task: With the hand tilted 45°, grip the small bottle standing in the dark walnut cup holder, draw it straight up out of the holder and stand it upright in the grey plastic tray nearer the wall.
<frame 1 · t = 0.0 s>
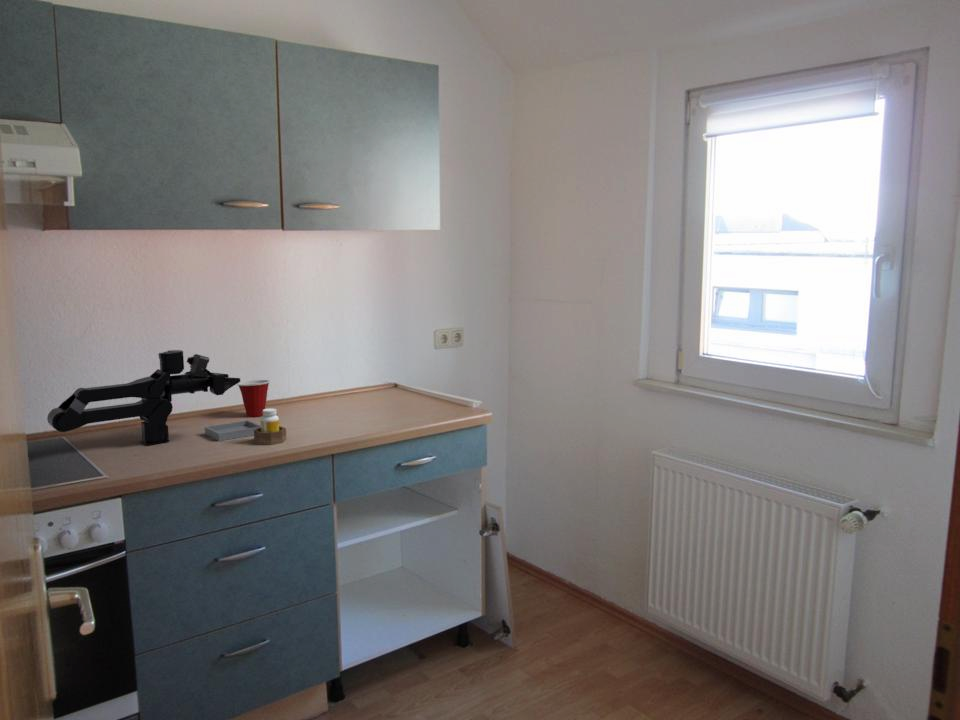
hand: (234, 377, 242), 17 cm above the worktop, tool horizontal, fingers open, 9 cm apart
supplement bottle: (270, 441, 230), resting in cup holder
cup holder: (270, 440, 230), on the worktop
plastic cup: (255, 415, 263), on the worktop
tray: (234, 433, 238), on the worktop
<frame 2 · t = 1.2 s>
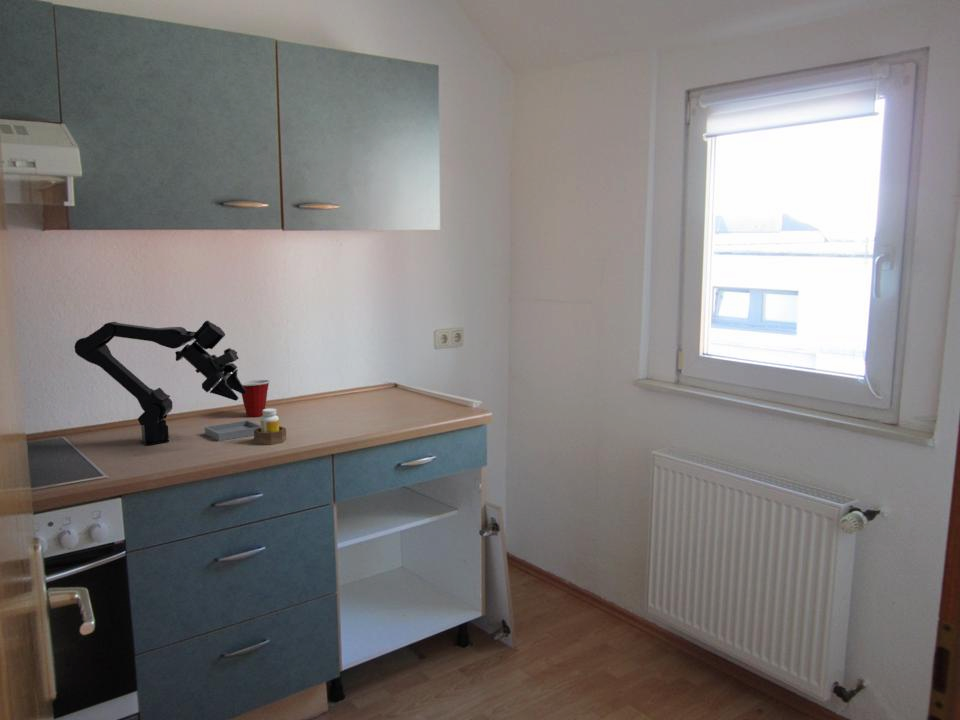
hand: (241, 396, 228), 14 cm above the worktop, tool tilted 45°, fingers open, 9 cm apart
nothing on the worktop moved.
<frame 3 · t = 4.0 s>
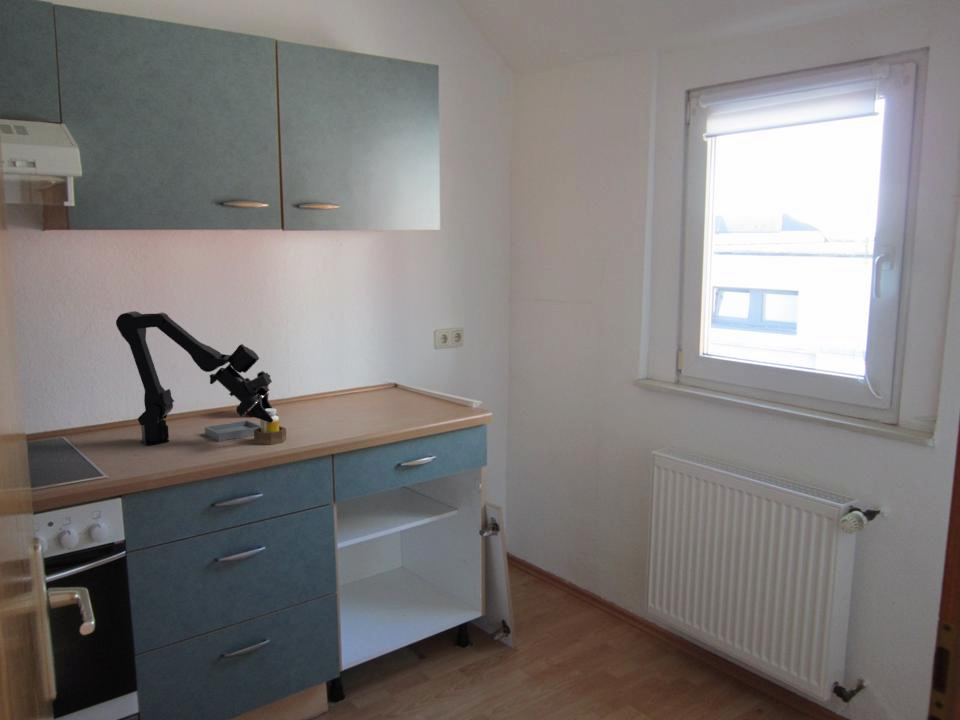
hand: (274, 419, 229), 7 cm above the worktop, tool tilted 45°, fingers closed on supplement bottle, 5 cm apart
supplement bottle: (270, 441, 230), resting in cup holder, touching gripper
everything else where it was.
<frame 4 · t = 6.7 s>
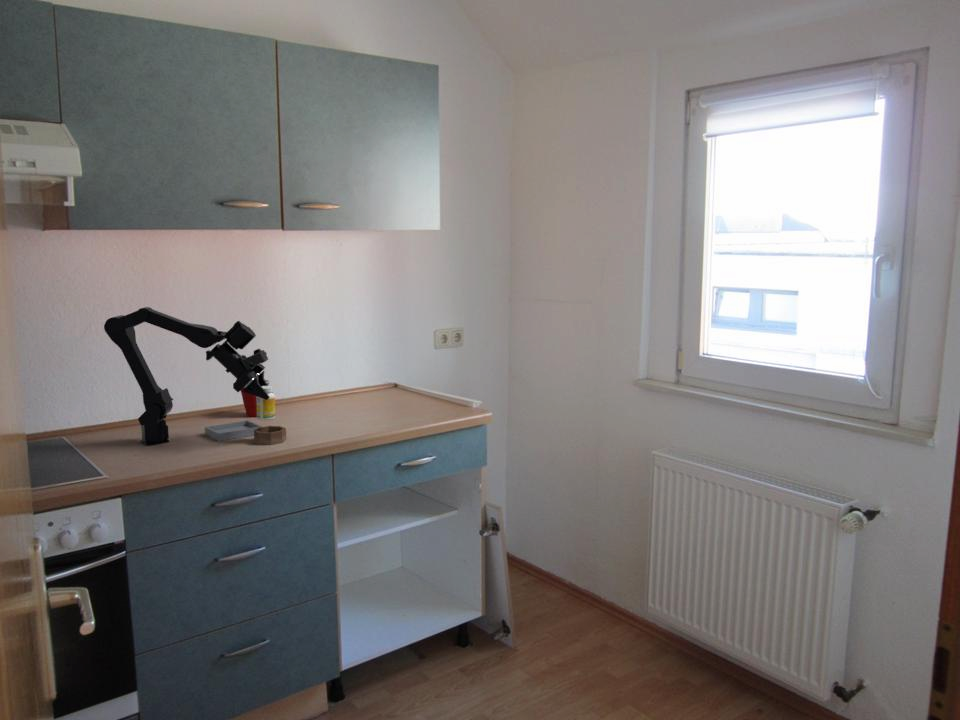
hand: (270, 396, 229), 13 cm above the worktop, tool tilted 45°, fingers closed on supplement bottle, 5 cm apart
supplement bottle: (266, 419, 230), point 7 cm above the worktop, touching gripper
everything else where it was.
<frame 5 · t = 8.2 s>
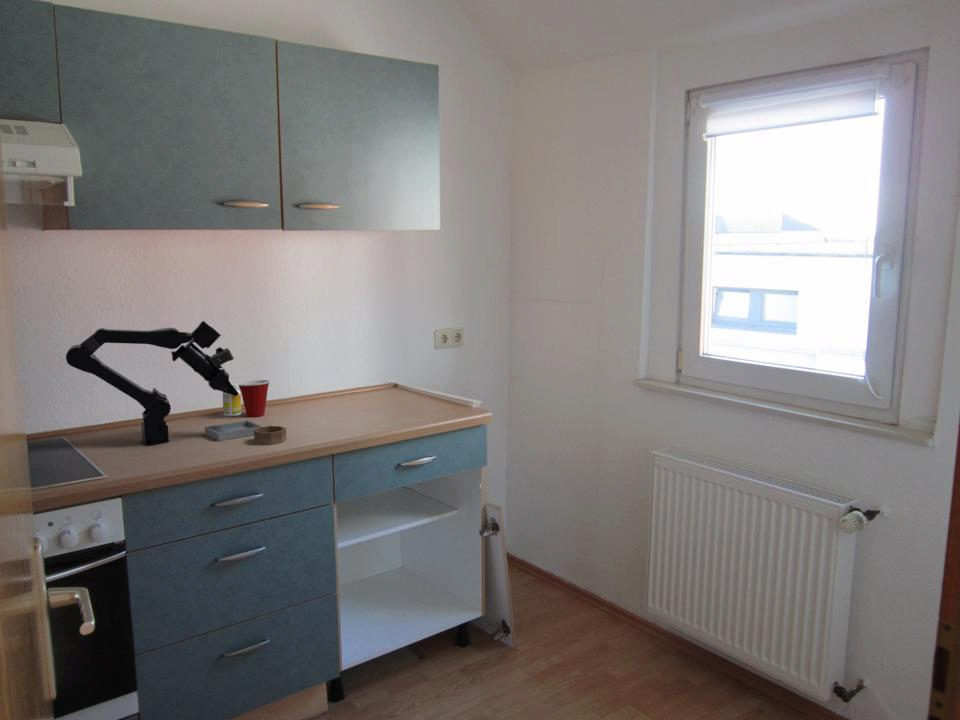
hand: (236, 393, 236), 13 cm above the worktop, tool tilted 45°, fingers closed on supplement bottle, 5 cm apart
supplement bottle: (232, 415, 237), point 6 cm above the worktop, touching gripper
everything else where it was.
when the fingers open (9 cm above the worktop, at t = 9.4 s): supplement bottle drops 1 cm, resting on tray.
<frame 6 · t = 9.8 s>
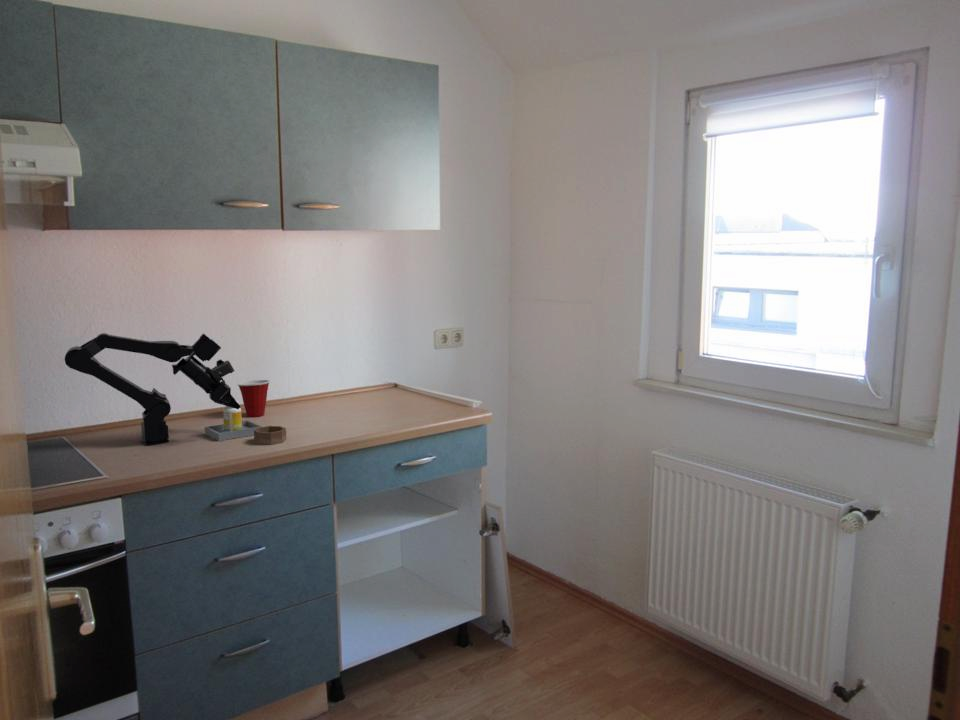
hand: (237, 405, 237), 9 cm above the worktop, tool tilted 45°, fingers open, 9 cm apart
supplement bottle: (233, 432, 238), point 1 cm above the worktop, touching tray
everything else where it was.
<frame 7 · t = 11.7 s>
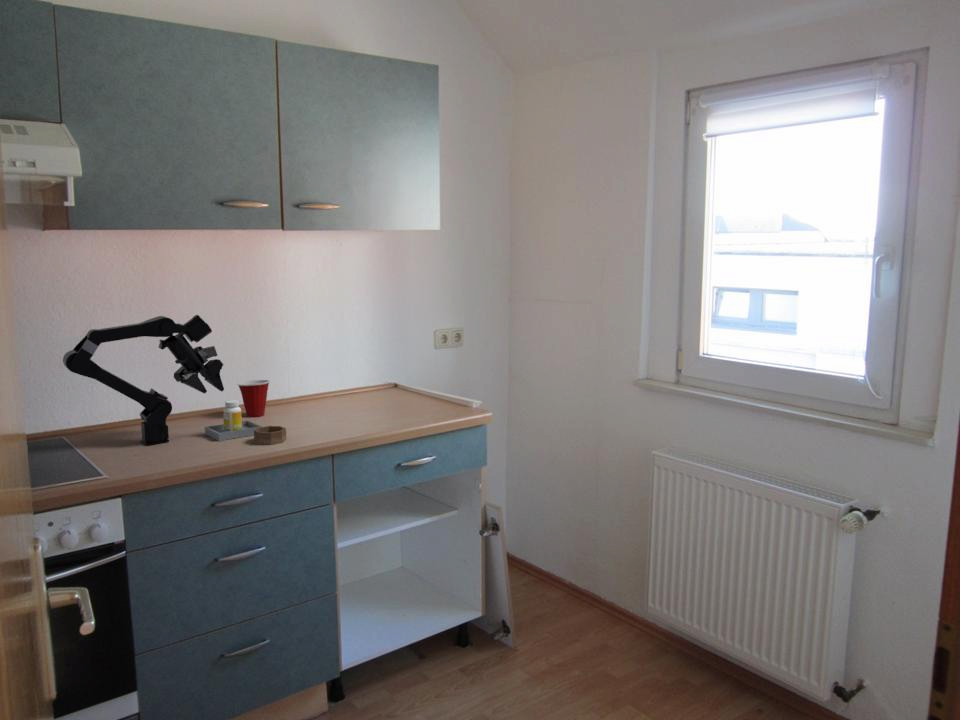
hand: (214, 391, 237), 13 cm above the worktop, tool tilted 35°, fingers open, 9 cm apart
nothing on the worktop moved.
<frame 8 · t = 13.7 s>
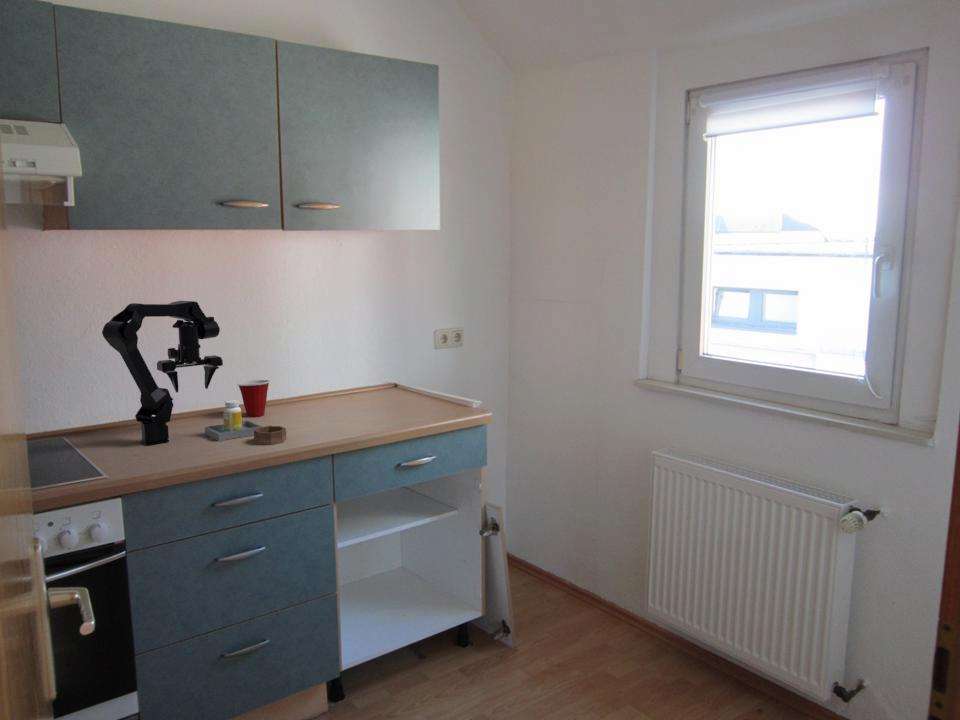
hand: (191, 390, 240), 13 cm above the worktop, tool pointing down, fingers open, 9 cm apart
nothing on the worktop moved.
at the end: supplement bottle 0.2 cm off-centre on the tray, point 0.6 cm above the tray's base; supplement bottle tilted 0°; the gripper is holding nothing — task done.
